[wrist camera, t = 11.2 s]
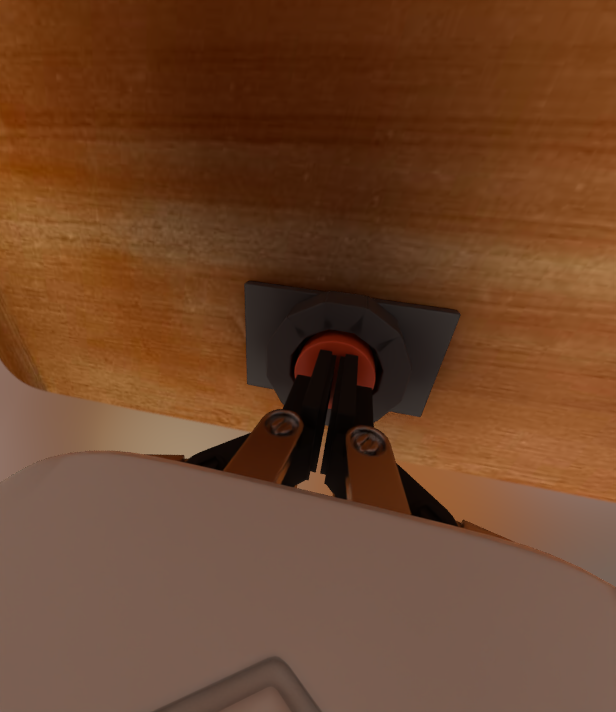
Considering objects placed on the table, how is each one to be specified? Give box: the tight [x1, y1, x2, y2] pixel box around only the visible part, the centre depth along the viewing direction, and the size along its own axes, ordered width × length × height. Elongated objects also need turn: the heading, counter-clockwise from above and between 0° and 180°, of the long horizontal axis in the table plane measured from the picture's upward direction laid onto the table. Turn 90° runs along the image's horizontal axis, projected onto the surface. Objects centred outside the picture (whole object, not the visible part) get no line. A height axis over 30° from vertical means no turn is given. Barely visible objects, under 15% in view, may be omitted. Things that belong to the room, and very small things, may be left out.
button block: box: [244, 281, 460, 426], centre depth 13 cm, size 10×6×2 cm, turn 85°
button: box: [295, 330, 375, 409], centre depth 12 cm, size 4×4×1 cm
